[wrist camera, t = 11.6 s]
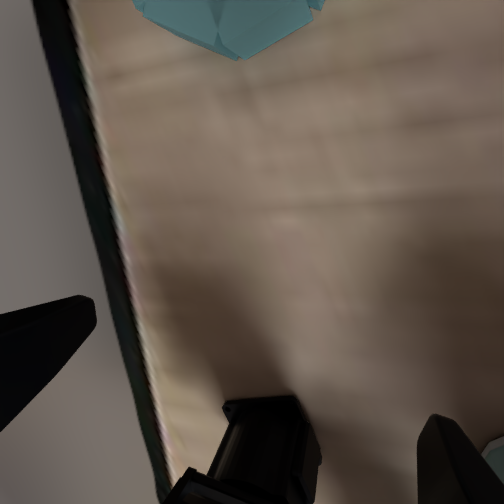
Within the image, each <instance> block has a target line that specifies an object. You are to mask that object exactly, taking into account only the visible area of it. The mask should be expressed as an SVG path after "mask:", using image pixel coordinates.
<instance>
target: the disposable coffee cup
mask: <svg viewBox="0 0 504 504" xmlns="http://www.w3.org/2000/svg"><path fill="white" fill-rule="evenodd" d="M481 455H482V456H483V458H484V459H485V460H486V462H487V463H488V464H489V465H490V467H491V468H492V469H493V471H494V472H495V473H496V475H497V476H498V477H499V478H500V480H501V481H502V482H503V484H504V436H503V437H501V438H498V439H496V440H493V441H491V442H489V443H488V445H487V446H486V448H485V449H484V451H483V452H482V454H481Z"/></svg>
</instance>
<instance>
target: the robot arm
mask: <svg viewBox="0 0 504 504" xmlns="http://www.w3.org/2000/svg"><path fill="white" fill-rule="evenodd" d="M96 324H97V317H96V311H95V304H94V301H93V299H91V298H89V297H86V296H83V295H76V296H72V297H68V298H64V299H60V300H56V301H52V302H48V303H44V304H40V305H36V306H32V307H28V308H24V309H20V310H16V311H12V312H8V313H4V314H0V432H1V431H2V430H3V429H4V428H5V427H6V426H7V425H8V424H9V423H10V422H11V421H12V420H13V419H14V418H15V417H16V416H17V415H18V414H19V413H20V412H21V411H22V410H23V408H25V407H26V406H27V404H28V403H29V402H30V401H31V400H32V399H33V398H34V397H35V396H36V395H37V394H38V393H39V392H40V391H41V390H42V389H43V388H44V387H45V386H46V385H47V384H48V383H49V382H50V381H51V380H52V379H53V378H54V377H55V376H56V375H57V373H58V372H59V371H60V370H61V369H62V368H63V366H64V365H65V364H66V363H67V362H68V360H69V359H70V358H71V357H72V356H73V354H74V353H75V352H76V351H77V349H78V348H79V347H80V346H81V345H82V343H83V342H84V341H85V340H86V339H87V337H88V336H89V335H90V334H91V332H92V331H93V330H94V328H95V327H96ZM290 402H291V403H290ZM292 403H293V404H292ZM222 409H223V412H224V414H225V416H226V418H227V420H228V422H229V425H228V427H227V430H226V432H225V434H224V436H223V439H222V441H221V443H220V446H219V448H218V450H217V452H216V455H215V457H214V459H213V462H212V464H211V466H210V468H209V471H208V473H207V475H205V474H202V473H200V472H197V470H196V469H194V468H191V467H188V469H187V470H186V471H185V473H184V474H183V476H182V477H180V478H179V480H178V481H177V483H176V484H175V486H174V487H173V489H172V490H171V492H170V493H169V494H168V496H167V497H166V499H165V500H164V502H163V503H162V504H313V503H314V502H315V493H316V484H317V475H318V466H320V465H321V463H322V456H321V454H320V446H319V444H318V441H317V439H316V436H315V434H314V432H313V429H312V427H311V425H310V423H309V422H308V421H307V420H306V418H305V416H304V413H303V411H302V408H301V406H300V404H299V401H298V400H297V398H296V397H294V396H279V397H267V398H255V399H244V400H232V401H225V403H224V404H223V407H222ZM417 484H418V504H504V484H503V482H502V481H501V480H500V478H499V477H498V476H497V475H496V473H495V472H494V471H493V469H492V468H491V467H490V465H489V464H488V463H487V462H486V460H485V459H484V458H483V456H482V455H481V454H480V452H479V451H478V450H477V449H476V447H475V446H474V445H473V443H472V442H471V441H470V439H469V438H468V437H467V436H466V434H465V433H464V432H463V430H462V429H461V428H460V426H459V425H458V424H457V423H456V422H455V421H454V420H452V419H450V418H447V417H444V416H441V415H438V414H432V415H431V416H430V417H429V419H428V420H427V422H426V424H425V426H424V428H423V430H422V431H421V433H420V435H419V437H418V441H417Z"/></svg>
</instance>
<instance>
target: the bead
mask: <svg viewBox="0 0 504 504" xmlns="http://www.w3.org/2000/svg"><path fill="white" fill-rule="evenodd" d="M132 1H133V3H134V5H135V8H136V9H137V10H139V11H141V12H143V17H145V18H147V19H148V20H150V21H152V22H154V23H155V24H157V25H159V26H161V27H162V28H164V29H166V30H168V31H169V32H171V33H173V34H175V35H176V36H179V37H181V38H183V39H186V40H188V41H190V42H193V43H195V44H198V45H200V46H202V47H205V48H207V49H209V50H212V51H214V52H216V53H219V54H221V55H223V56H226V57H228V58H231V59H233V60H235V61H237V58H238V56H239V57H241V58H242V59H244V60H246V59H248V58H250V57H251V56H253V55H255V54H257V53H258V52H260V51H262V50H263V49H265V48H267V47H268V46H270V45H272V44H273V43H275V42H277V41H279V40H280V39H282V38H284V37H285V36H287V35H289V34H290V33H292V32H294V31H295V30H297V29H299V28H301V27H302V26H304V25H306V24H307V23H309V22H311V21H312V20H313V18H312V15H311V11H310V8H309V7H312V8H314V9H317V10H320V11H321V9H322V6H323V4H324V1H325V0H132Z"/></svg>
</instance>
